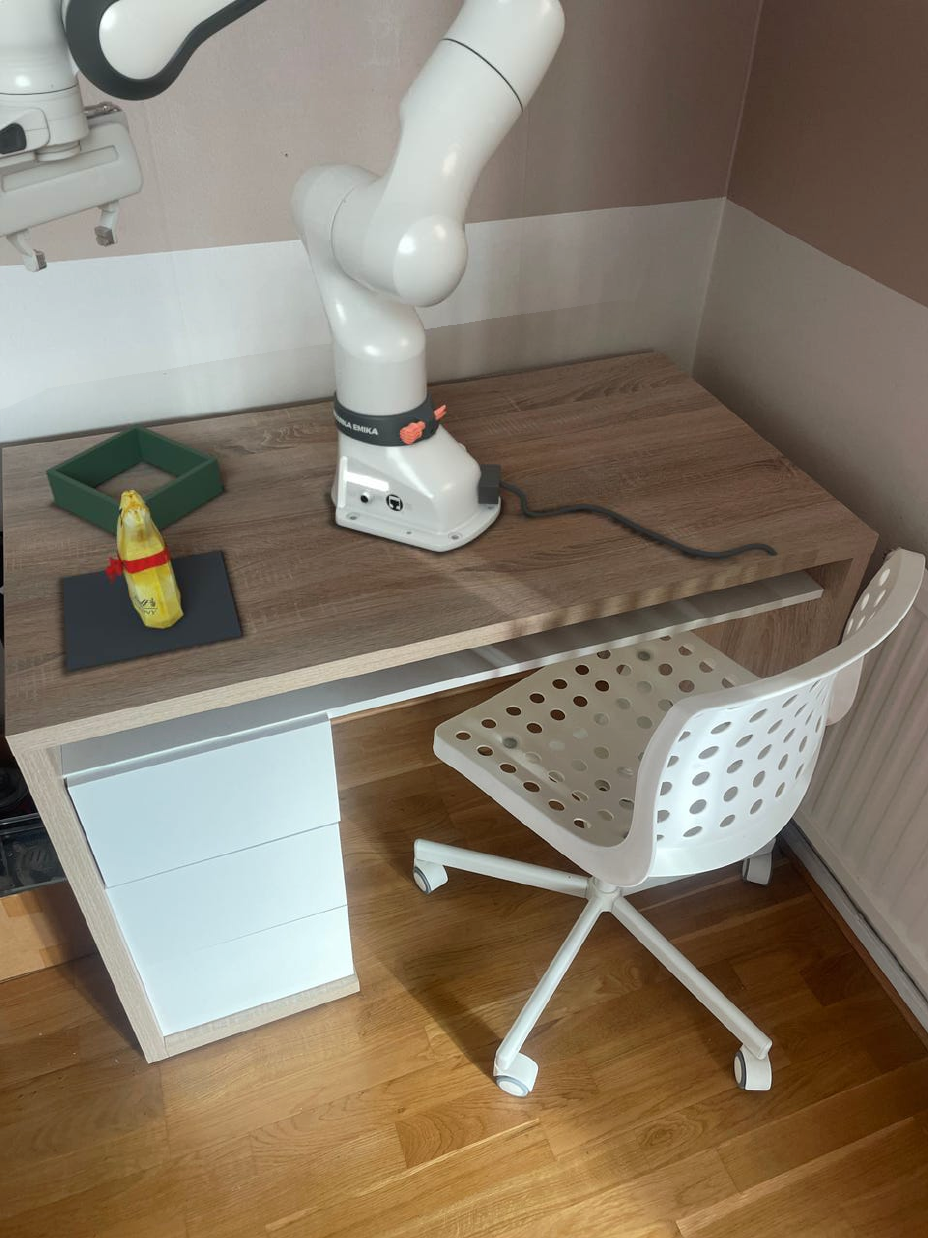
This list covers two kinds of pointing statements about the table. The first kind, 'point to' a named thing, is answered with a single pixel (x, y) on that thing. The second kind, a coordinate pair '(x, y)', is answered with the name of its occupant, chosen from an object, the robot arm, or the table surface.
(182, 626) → the mat
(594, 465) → the table surface
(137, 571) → the chocolate bunny
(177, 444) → the crate
